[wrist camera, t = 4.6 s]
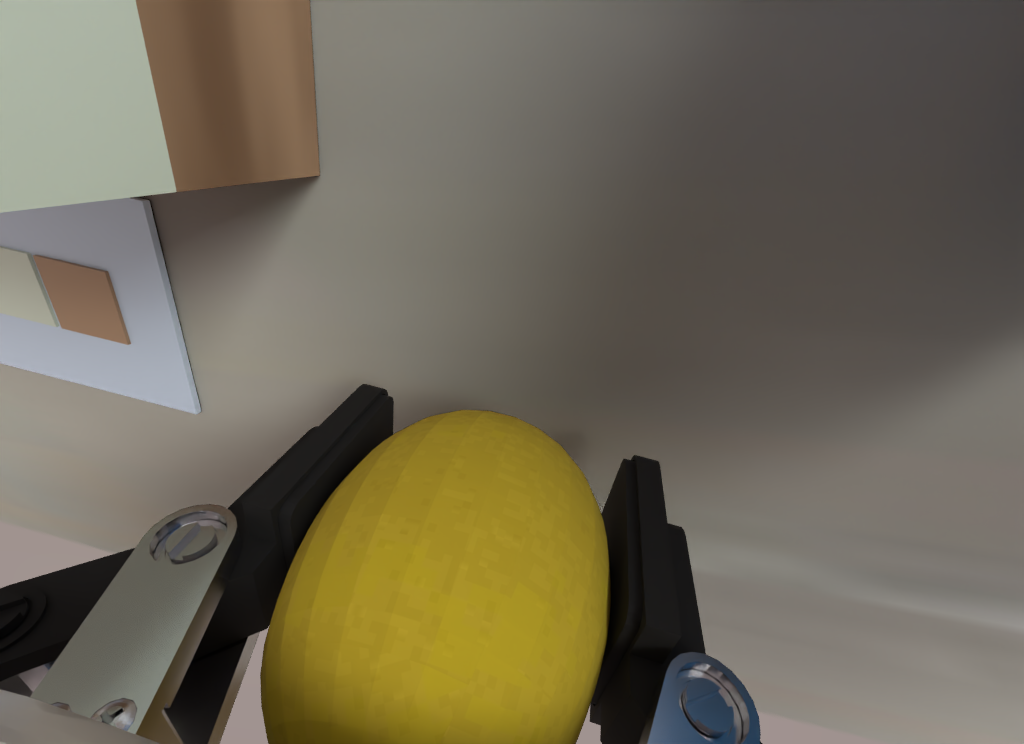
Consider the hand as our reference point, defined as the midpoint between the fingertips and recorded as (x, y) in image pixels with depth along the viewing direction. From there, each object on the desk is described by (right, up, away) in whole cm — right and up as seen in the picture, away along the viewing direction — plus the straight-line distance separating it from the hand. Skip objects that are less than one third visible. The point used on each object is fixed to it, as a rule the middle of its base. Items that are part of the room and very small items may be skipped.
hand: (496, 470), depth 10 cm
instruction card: (-15, +5, +3) cm, 16 cm away
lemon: (0, +1, +1) cm, 1 cm away
